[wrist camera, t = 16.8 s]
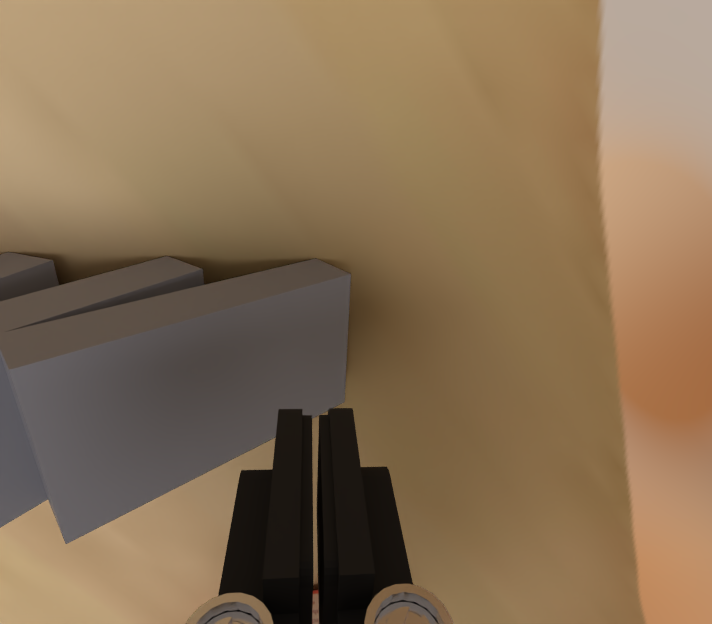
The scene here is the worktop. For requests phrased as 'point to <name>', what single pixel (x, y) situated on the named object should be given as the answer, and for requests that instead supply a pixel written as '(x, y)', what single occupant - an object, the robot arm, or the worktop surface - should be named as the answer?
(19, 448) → the domino
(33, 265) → the domino
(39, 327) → the domino
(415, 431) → the worktop surface
